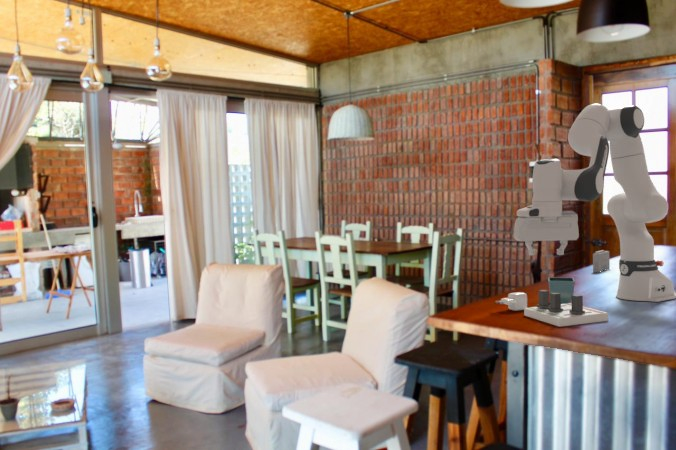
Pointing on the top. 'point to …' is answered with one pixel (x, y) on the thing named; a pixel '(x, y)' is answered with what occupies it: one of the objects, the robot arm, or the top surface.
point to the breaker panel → (566, 315)
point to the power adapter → (515, 301)
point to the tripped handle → (577, 304)
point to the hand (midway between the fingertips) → (546, 255)
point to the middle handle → (555, 302)
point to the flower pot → (562, 288)
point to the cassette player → (601, 261)
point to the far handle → (543, 299)
